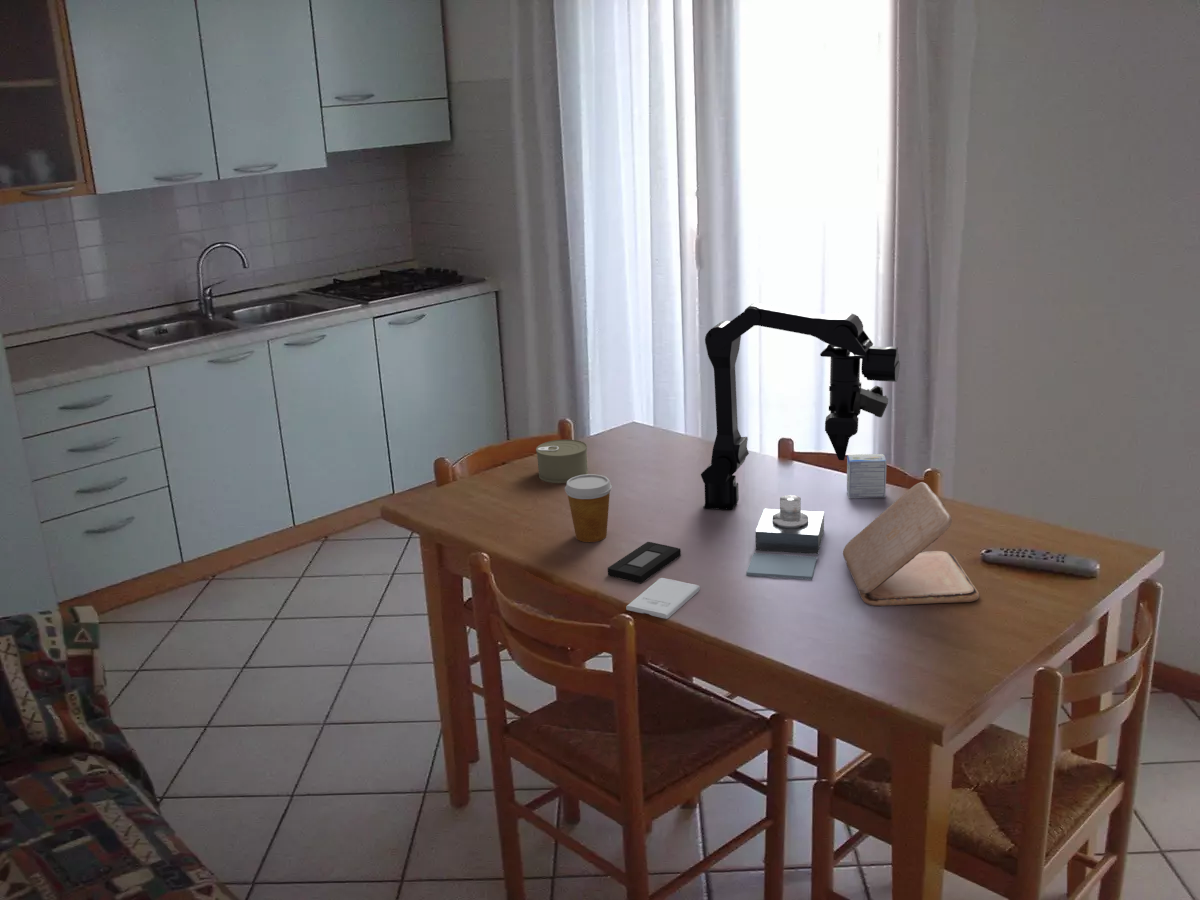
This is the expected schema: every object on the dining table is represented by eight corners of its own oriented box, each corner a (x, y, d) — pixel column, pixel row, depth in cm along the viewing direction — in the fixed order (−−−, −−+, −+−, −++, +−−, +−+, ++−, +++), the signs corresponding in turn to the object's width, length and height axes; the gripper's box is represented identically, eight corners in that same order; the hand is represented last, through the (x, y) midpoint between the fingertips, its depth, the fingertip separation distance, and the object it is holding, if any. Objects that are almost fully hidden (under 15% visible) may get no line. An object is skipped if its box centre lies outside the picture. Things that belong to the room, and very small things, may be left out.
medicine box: (883, 491, 249) (884, 453, 247) (886, 498, 245) (887, 460, 242) (846, 491, 250) (846, 454, 247) (848, 499, 246) (849, 461, 243)
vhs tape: (607, 577, 216) (607, 568, 215) (648, 550, 227) (647, 541, 226) (641, 585, 212) (640, 576, 211) (680, 557, 223) (680, 548, 222)
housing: (755, 550, 223) (755, 531, 222) (764, 526, 234) (764, 508, 233) (818, 554, 220) (818, 535, 218) (823, 530, 231) (824, 511, 229)
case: (840, 560, 217) (841, 481, 212) (952, 555, 216) (955, 476, 211) (860, 610, 198) (861, 524, 193) (983, 605, 197) (988, 519, 192)
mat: (746, 575, 213) (746, 572, 212) (753, 555, 221) (753, 552, 221) (811, 579, 209) (811, 576, 209) (816, 559, 217) (816, 556, 217)
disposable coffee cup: (621, 530, 236) (619, 475, 232) (602, 548, 228) (599, 491, 224) (580, 525, 240) (576, 471, 236) (560, 542, 232) (556, 487, 228)
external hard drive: (699, 593, 208) (667, 622, 198) (660, 585, 212) (626, 612, 202) (699, 585, 207) (666, 613, 197) (659, 576, 212) (625, 604, 202)
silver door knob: (770, 543, 224) (769, 504, 222) (775, 530, 231) (774, 491, 228) (806, 545, 222) (806, 506, 220) (810, 532, 229) (810, 493, 226)
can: (588, 482, 265) (586, 454, 263) (536, 484, 265) (534, 456, 263) (589, 465, 276) (587, 438, 274) (539, 467, 276) (537, 440, 274)
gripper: (885, 392, 217) (882, 470, 222) (887, 367, 234) (884, 439, 239) (825, 390, 220) (824, 467, 225) (832, 365, 237) (830, 437, 242)
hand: (842, 452), depth 232 cm, fingers open, 9 cm apart
